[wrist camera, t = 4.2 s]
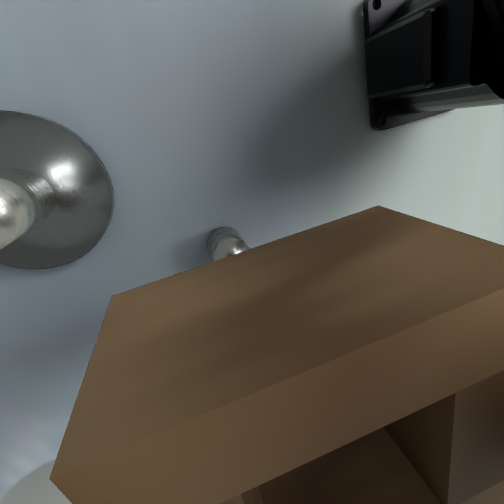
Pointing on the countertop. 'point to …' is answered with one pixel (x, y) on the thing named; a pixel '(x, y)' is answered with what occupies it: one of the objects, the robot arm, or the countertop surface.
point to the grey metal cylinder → (225, 243)
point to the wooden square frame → (302, 375)
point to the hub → (49, 193)
